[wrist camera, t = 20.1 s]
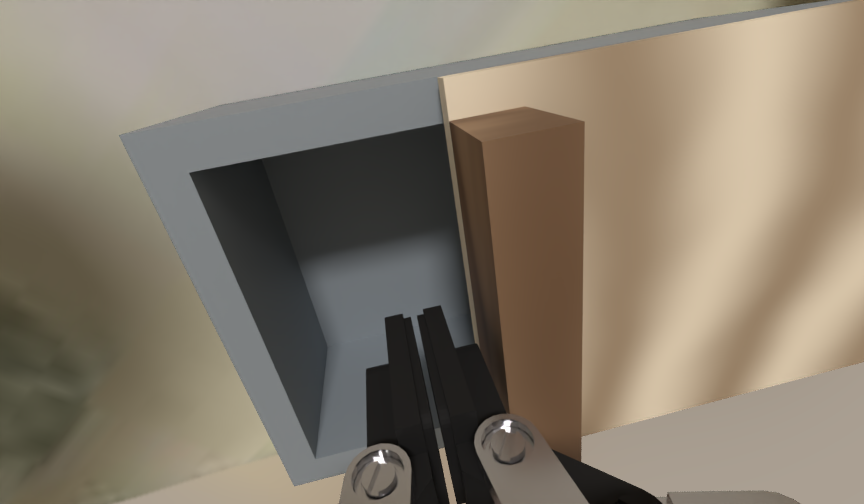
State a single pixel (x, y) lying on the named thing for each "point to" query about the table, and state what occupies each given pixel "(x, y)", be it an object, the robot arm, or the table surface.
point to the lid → (663, 217)
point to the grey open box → (327, 235)
